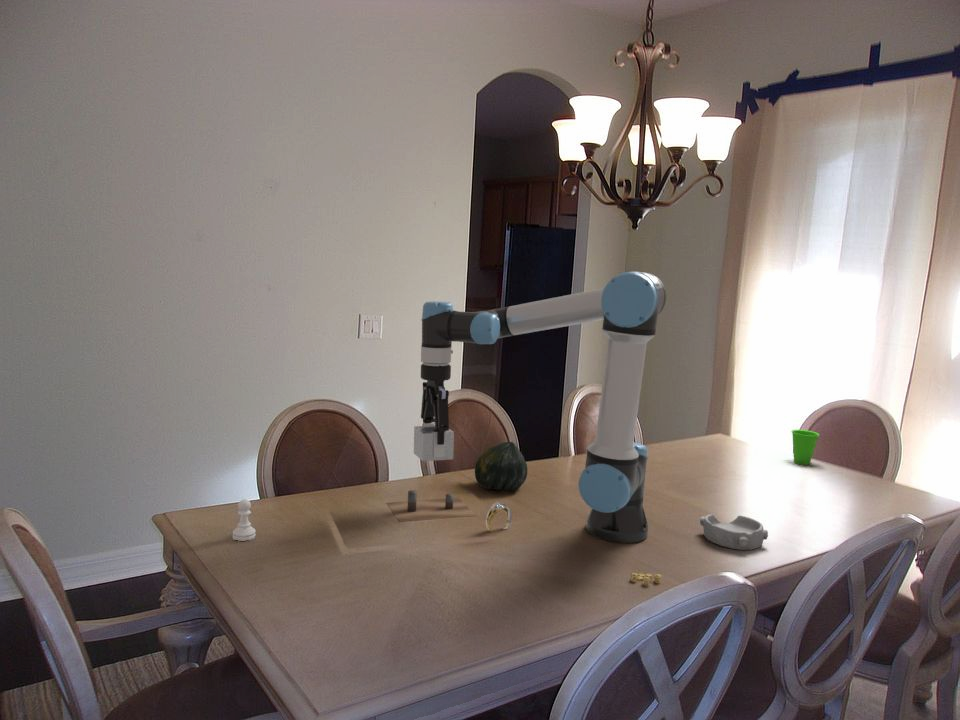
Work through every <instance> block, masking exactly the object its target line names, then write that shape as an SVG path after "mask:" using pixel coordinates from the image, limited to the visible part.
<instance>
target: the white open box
mask: <svg viewBox="0 0 960 720" xmlns="http://www.w3.org/2000/svg"><path fill="white" fill-rule="evenodd" d="M442 426H443V425H442ZM413 429H414V430H413V454H414V455H415V456H416V457H418V459H419V460H421V461H422V462H434V461H435V462H436V461H446V460H454V450H455V449H454V446H455V431H453V430H452V429H450V428H449V430H448V431H445V457H433V449H434V432H433V430H434V429H435V424H434V426H424V425H418V426H417V425H415V426H414V427H413Z"/></svg>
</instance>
